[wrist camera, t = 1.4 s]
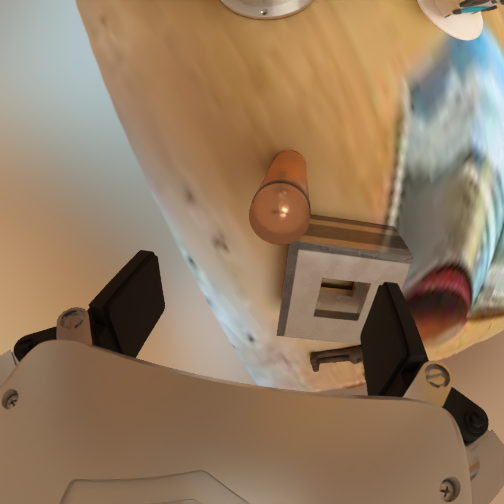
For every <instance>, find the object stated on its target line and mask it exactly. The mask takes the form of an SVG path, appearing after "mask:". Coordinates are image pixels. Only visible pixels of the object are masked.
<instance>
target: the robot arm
mask: <svg viewBox="0 0 504 504" xmlns="http://www.w3.org/2000/svg"><path fill="white" fill-rule="evenodd" d="M221 2H222V3H223V4H224V5H225V6H226V7H228V8H229V9H230V10H231V11H233V12H235V13H237V14H239V15H242V16H245V17H248V18H253V19H263V20H270V19H279V18H284V17H288V16H291V15H294V14H296V13H298V12H300V11H302V10H303V9H305V8H306V7H307V6H309V5H310V4H311V3H312V2H313V0H221ZM263 13H267V14H266V15H263ZM89 307H90V308H89V309H88V310H87V311H86V310H85V309H83V308H79V307H75V308H71V309H68V310H66V311H64V312H63V313H62V314H61V315H60V316H59V318H58V319H57V326H56V327H53V328H49V329H46V330H43V331H40V332H36V333H33V334H29V335H26V336H24V337H22V338H21V339H20V340H18V342H17V343H16V344H15V346H14V352H11V350H9V351H8V352H6V353H4V354H3V355H1V356H0V504H489V503H490V502H491V501H492V500H493V499H494V497H495V496H496V495H497V494H498V492H499V491H500V490H501V488H502V487H503V486H504V445H503V443H502V442H501V441H500V439H499V438H498V437H497V435H496V434H495V433H494V431H493V430H491V431H489V430H488V429H487V428H488V417H487V415H486V413H485V411H484V410H483V409H482V408H480V407H479V406H478V405H476V404H475V403H473V402H472V401H471V400H469V399H468V398H467V397H465V396H464V395H463V394H461V393H460V392H458V391H457V390H456V389H454V388H453V387H452V385H453V375H452V373H451V371H450V369H449V368H448V367H447V366H446V365H445V364H443V363H441V362H438V361H429V360H428V357H427V354H426V351H425V349H424V346H423V343H422V340H421V337H420V335H419V332H418V329H417V327H416V324H415V321H414V319H413V317H412V316H411V313H410V311H409V308H408V306H407V304H406V301H405V299H404V296H403V294H402V292H401V289H400V287H399V285H398V283H393V282H384V283H383V285H379V286H378V289H377V292H376V295H375V297H374V300H373V303H372V306H371V308H370V311H369V314H368V316H367V319H366V321H365V324H364V326H363V329H362V331H361V335H360V341H361V348H362V354H363V361H364V368H365V375H366V383H367V391H368V396H364V395H345V394H328V393H315V392H304V391H295V390H286V389H278V388H270V387H263V386H257V385H250V384H244V383H238V382H233V381H227V380H221V379H216V378H212V377H207V376H203V375H198V374H194V373H189V372H185V371H181V370H177V369H173V368H169V367H165V366H161V365H158V364H154V363H151V362H147V361H144V360H140V359H137V358H136V356H137V355H138V353H139V351H140V350H141V348H142V346H143V345H144V343H145V341H146V340H147V338H148V336H149V334H150V333H151V331H152V330H153V328H154V326H155V325H156V323H157V321H158V320H159V318H160V316H161V315H162V313H163V311H164V309H165V302H164V296H163V290H162V283H161V277H160V270H159V263H158V257H157V256H156V255H155V254H154V252H151V251H144V250H140V251H139V252H138V253H137V254H136V255H135V256H134V257H133V258H132V259H131V260H130V261H129V262H128V263H127V264H126V265H125V266H124V267H123V268H122V269H121V270H120V271H119V273H117V274H116V276H115V277H114V278H113V279H112V280H111V281H110V282H109V283H108V284H107V285H106V286H105V287H104V289H102V291H101V292H100V293H99V294H98V295H97V296H96V297H95V298H94V300H93V301H92V302H91V303H90V304H89Z"/></svg>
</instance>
